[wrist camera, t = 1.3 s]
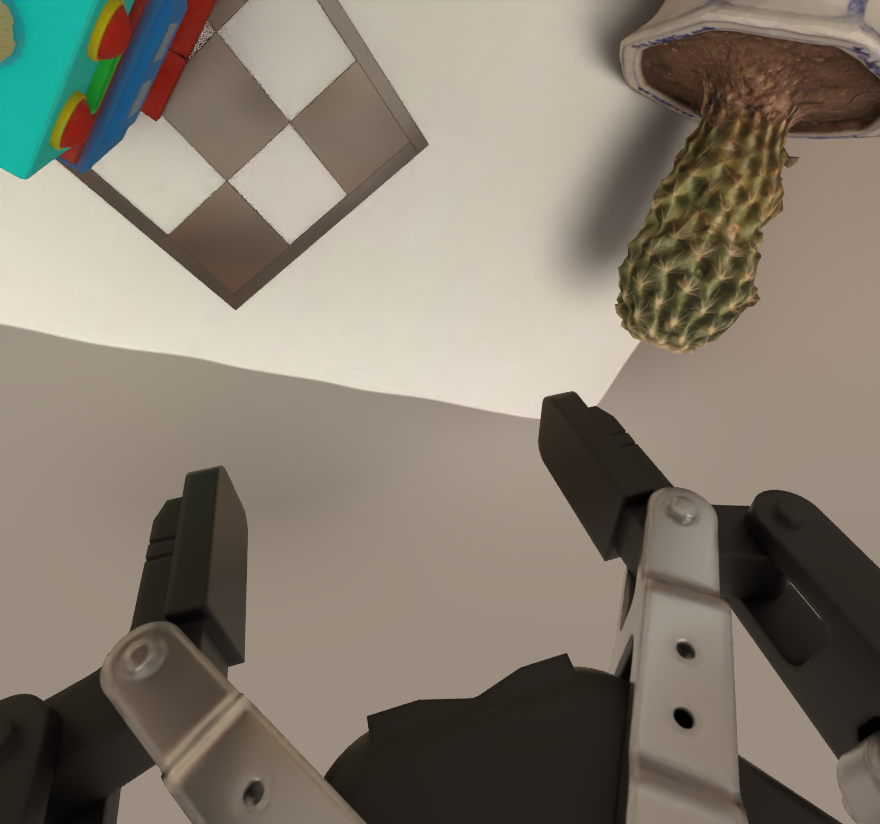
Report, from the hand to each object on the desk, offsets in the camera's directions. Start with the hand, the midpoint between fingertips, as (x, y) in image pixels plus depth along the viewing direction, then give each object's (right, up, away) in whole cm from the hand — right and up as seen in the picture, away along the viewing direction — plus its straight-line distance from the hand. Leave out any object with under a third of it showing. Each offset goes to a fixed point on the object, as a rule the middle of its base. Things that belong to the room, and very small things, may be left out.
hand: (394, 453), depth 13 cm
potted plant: (+19, +26, +27) cm, 42 cm away
